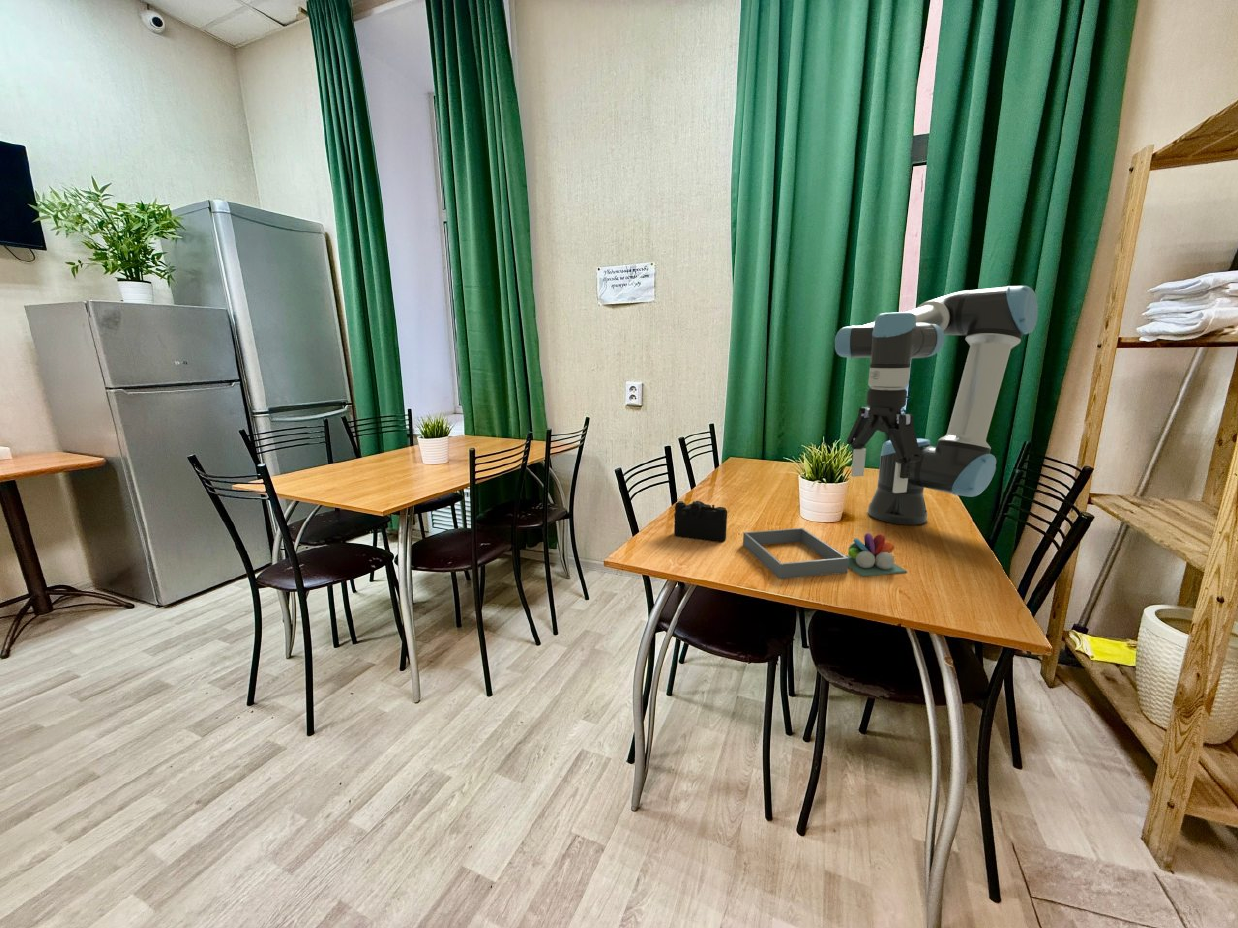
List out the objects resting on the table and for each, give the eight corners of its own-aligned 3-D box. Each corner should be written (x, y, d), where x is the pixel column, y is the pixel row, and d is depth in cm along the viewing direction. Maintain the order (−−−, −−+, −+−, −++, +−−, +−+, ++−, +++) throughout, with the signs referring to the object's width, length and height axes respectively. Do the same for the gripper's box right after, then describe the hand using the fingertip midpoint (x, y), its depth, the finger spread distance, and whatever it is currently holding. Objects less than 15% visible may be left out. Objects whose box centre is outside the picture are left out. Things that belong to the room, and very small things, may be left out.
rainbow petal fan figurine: (899, 573, 107) (903, 542, 106) (852, 570, 109) (856, 539, 107) (886, 557, 115) (889, 528, 114) (842, 554, 117) (845, 526, 115)
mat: (876, 554, 118) (876, 552, 118) (906, 572, 108) (906, 570, 108) (834, 558, 116) (834, 556, 116) (861, 576, 106) (862, 575, 106)
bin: (801, 540, 127) (802, 527, 126) (847, 572, 108) (848, 558, 108) (742, 545, 124) (743, 532, 123) (779, 579, 106) (780, 564, 105)
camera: (731, 530, 135) (733, 496, 132) (723, 544, 125) (725, 507, 123) (683, 524, 140) (683, 490, 138) (671, 537, 131) (672, 501, 128)
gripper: (835, 384, 115) (828, 471, 120) (916, 394, 91) (903, 501, 96) (864, 383, 117) (856, 469, 122) (951, 392, 93) (936, 498, 98)
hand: (877, 483), depth 109 cm, fingers open, 13 cm apart
